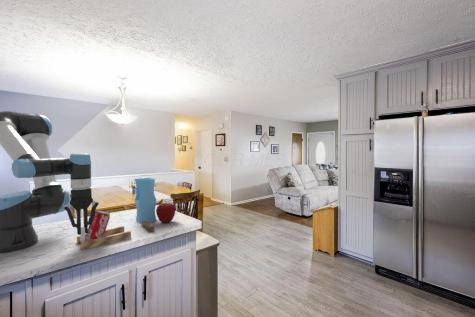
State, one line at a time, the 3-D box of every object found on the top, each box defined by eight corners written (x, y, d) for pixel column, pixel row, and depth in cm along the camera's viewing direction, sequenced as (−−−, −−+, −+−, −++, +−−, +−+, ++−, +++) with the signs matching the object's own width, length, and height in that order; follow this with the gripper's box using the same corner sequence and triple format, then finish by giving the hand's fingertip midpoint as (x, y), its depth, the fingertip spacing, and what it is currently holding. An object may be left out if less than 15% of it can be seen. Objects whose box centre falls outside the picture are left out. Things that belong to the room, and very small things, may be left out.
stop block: (150, 232, 115) (150, 226, 115) (141, 226, 124) (141, 221, 124) (154, 231, 117) (154, 226, 117) (145, 226, 125) (145, 220, 125)
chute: (81, 250, 95) (81, 243, 95) (76, 242, 104) (76, 236, 104) (131, 237, 109) (130, 231, 109) (123, 231, 117) (123, 225, 117)
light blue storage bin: (135, 219, 137) (134, 178, 136) (151, 216, 143) (150, 177, 142) (139, 223, 130) (138, 180, 129) (156, 220, 136) (155, 179, 135)
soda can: (93, 243, 99) (104, 213, 102) (80, 238, 100) (90, 209, 103) (105, 241, 106) (114, 213, 108) (92, 237, 107) (102, 210, 110)
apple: (160, 226, 125) (159, 205, 124) (153, 221, 133) (153, 202, 132) (178, 222, 132) (178, 202, 131) (171, 218, 140) (171, 199, 139)
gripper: (63, 191, 92) (65, 247, 93) (100, 187, 101) (101, 239, 102) (61, 189, 98) (63, 242, 99) (96, 185, 107) (97, 235, 107)
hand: (82, 241), depth 100 cm, fingers closed
